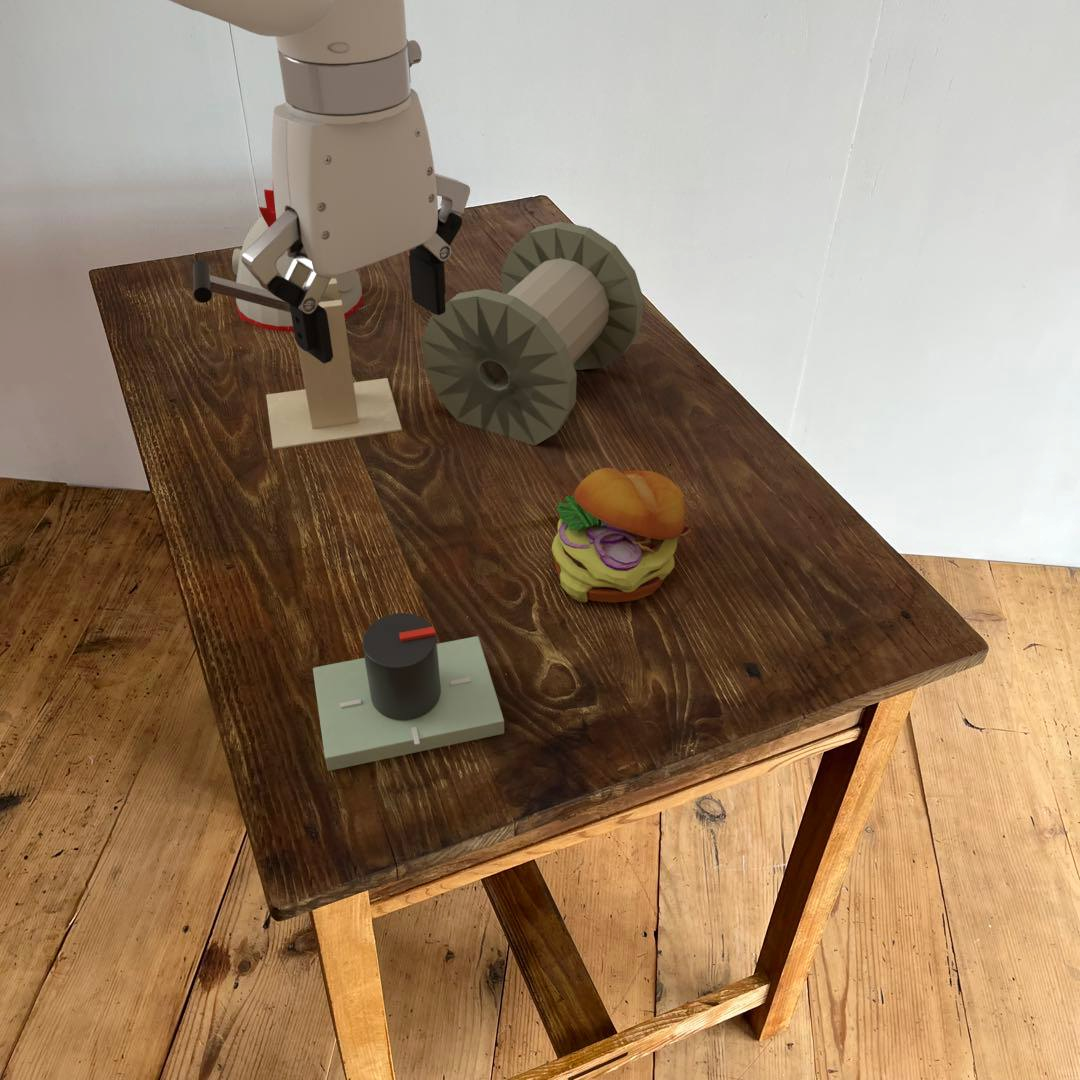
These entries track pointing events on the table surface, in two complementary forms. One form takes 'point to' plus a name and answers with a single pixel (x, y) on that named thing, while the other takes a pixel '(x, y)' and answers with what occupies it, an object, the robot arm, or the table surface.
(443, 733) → the dial panel
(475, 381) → the spool
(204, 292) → the lever
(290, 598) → the table surface
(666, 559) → the cheeseburger
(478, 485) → the table surface
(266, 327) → the kitchen timer
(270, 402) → the wooden stand
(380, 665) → the knob
